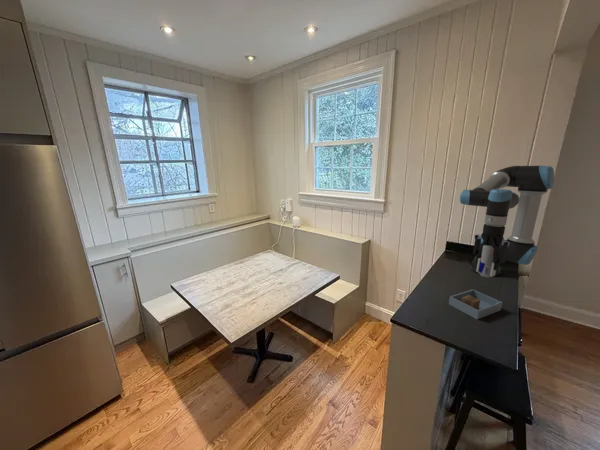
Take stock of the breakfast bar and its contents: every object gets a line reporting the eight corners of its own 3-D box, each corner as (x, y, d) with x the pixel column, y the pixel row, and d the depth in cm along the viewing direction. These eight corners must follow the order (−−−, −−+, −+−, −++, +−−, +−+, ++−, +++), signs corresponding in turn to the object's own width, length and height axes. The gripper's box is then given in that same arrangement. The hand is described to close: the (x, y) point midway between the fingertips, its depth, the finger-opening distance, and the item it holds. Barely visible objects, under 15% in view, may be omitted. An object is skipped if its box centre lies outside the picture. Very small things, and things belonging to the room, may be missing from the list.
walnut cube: (460, 306, 114) (462, 297, 113) (467, 304, 116) (469, 294, 115) (471, 312, 110) (473, 302, 108) (478, 309, 112) (480, 300, 110)
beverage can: (488, 273, 115) (493, 243, 111) (494, 278, 110) (500, 247, 106) (476, 272, 116) (481, 243, 112) (481, 277, 111) (487, 246, 107)
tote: (471, 296, 124) (472, 289, 123) (500, 310, 112) (502, 302, 111) (448, 304, 117) (449, 296, 116) (477, 319, 106) (478, 311, 105)
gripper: (468, 221, 113) (460, 267, 119) (513, 230, 97) (502, 283, 103) (478, 219, 116) (470, 264, 122) (524, 228, 100) (513, 279, 106)
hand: (485, 273), depth 112 cm, fingers closed on beverage can, 5 cm apart
